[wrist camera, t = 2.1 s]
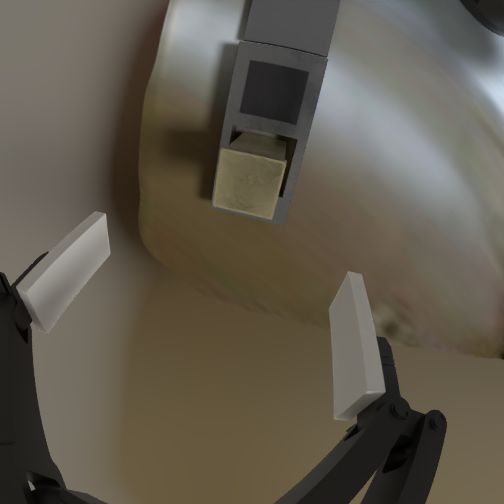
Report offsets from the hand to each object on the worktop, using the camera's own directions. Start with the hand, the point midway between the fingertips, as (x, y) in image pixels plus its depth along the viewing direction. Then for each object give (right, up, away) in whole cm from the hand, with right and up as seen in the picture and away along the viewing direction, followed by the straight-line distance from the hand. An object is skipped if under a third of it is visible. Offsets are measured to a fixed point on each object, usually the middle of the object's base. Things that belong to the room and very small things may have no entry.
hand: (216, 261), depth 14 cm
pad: (+6, +26, +7) cm, 28 cm away
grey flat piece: (+3, +14, +15) cm, 21 cm away
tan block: (+3, +12, +17) cm, 21 cm away
